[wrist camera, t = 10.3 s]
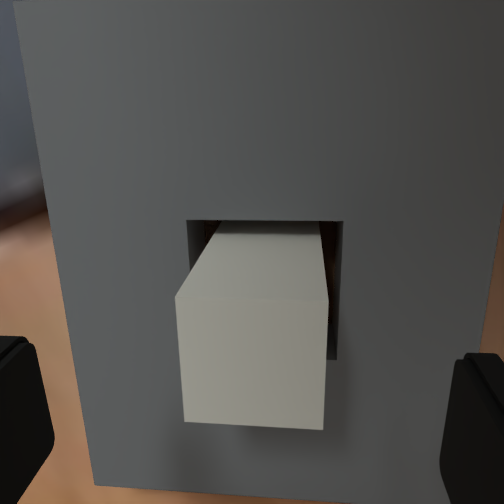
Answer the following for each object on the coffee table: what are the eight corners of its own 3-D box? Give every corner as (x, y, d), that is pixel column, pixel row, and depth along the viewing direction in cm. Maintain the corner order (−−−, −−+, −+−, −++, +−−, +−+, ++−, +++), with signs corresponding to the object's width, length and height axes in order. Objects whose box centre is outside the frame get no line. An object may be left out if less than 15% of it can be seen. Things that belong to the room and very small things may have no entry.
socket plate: (58, 15, 18) (12, 1, 15) (498, -2, 16) (540, -22, 13) (118, 439, 24) (94, 485, 21) (434, 458, 22) (452, 510, 20)
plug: (223, 217, 20) (174, 296, 12) (318, 219, 19) (328, 301, 12) (226, 302, 21) (184, 422, 13) (315, 305, 20) (322, 430, 13)
